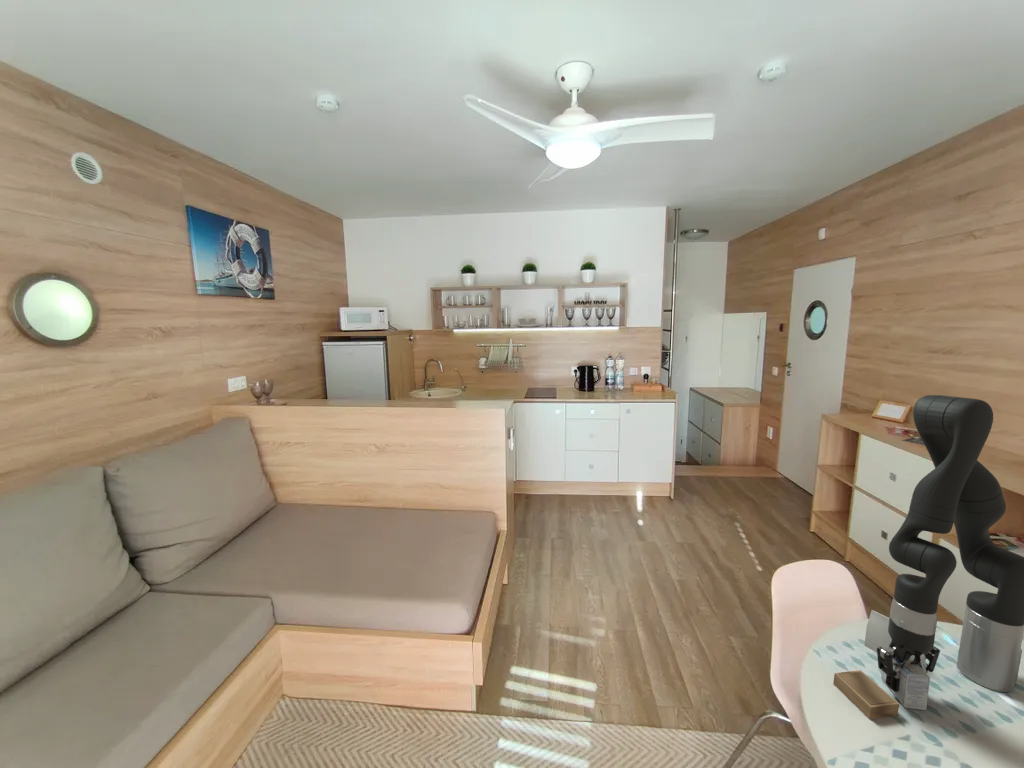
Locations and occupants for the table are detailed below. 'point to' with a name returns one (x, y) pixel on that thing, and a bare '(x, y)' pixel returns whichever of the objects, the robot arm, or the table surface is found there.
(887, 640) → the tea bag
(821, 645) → the table surface
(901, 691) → the medicine box
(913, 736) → the table surface
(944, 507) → the robot arm
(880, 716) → the brown flat rectangular block
